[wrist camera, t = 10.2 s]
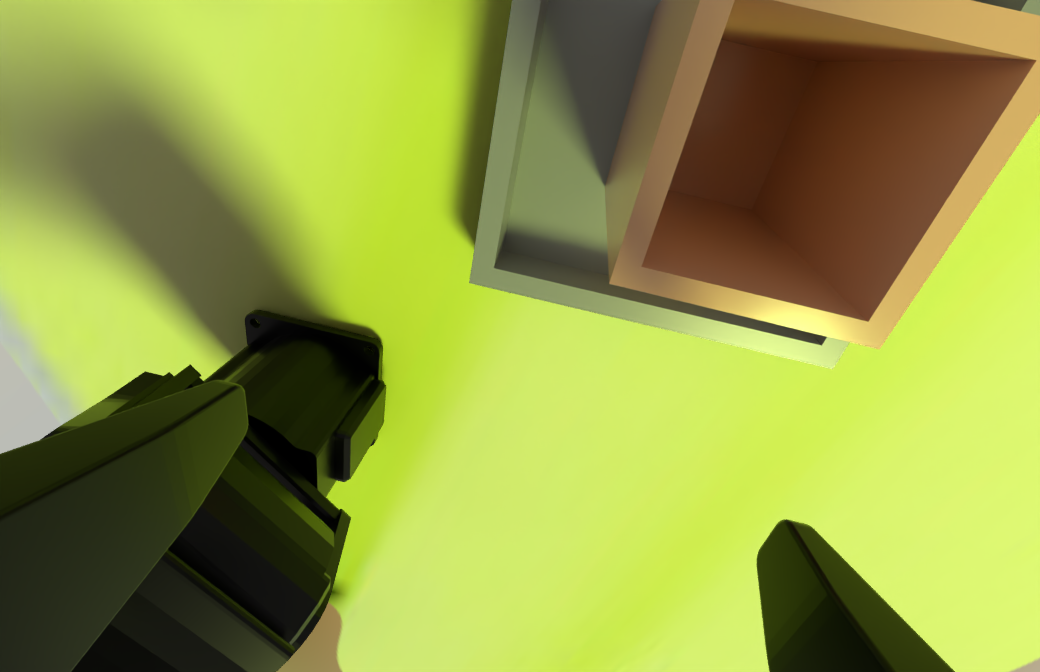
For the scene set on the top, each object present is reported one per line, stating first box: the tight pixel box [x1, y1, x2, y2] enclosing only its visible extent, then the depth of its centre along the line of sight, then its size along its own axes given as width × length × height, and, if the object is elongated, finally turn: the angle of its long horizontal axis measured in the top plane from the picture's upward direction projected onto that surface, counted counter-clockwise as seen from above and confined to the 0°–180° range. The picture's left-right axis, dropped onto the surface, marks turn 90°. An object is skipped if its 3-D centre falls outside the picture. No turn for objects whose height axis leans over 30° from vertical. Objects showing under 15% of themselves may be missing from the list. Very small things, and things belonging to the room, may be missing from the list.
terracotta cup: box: [605, 0, 1040, 349], centre depth 12 cm, size 6×6×9 cm
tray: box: [469, 0, 1040, 369], centre depth 16 cm, size 14×14×2 cm
